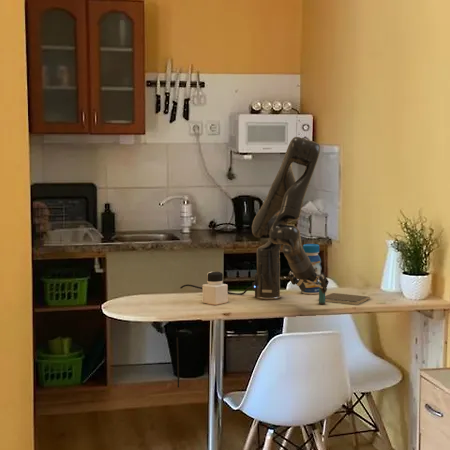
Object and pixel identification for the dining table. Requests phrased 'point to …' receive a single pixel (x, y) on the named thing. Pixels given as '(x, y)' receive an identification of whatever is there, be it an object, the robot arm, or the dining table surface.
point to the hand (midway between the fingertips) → (314, 290)
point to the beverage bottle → (313, 255)
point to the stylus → (321, 297)
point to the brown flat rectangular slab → (346, 298)
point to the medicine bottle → (215, 289)
